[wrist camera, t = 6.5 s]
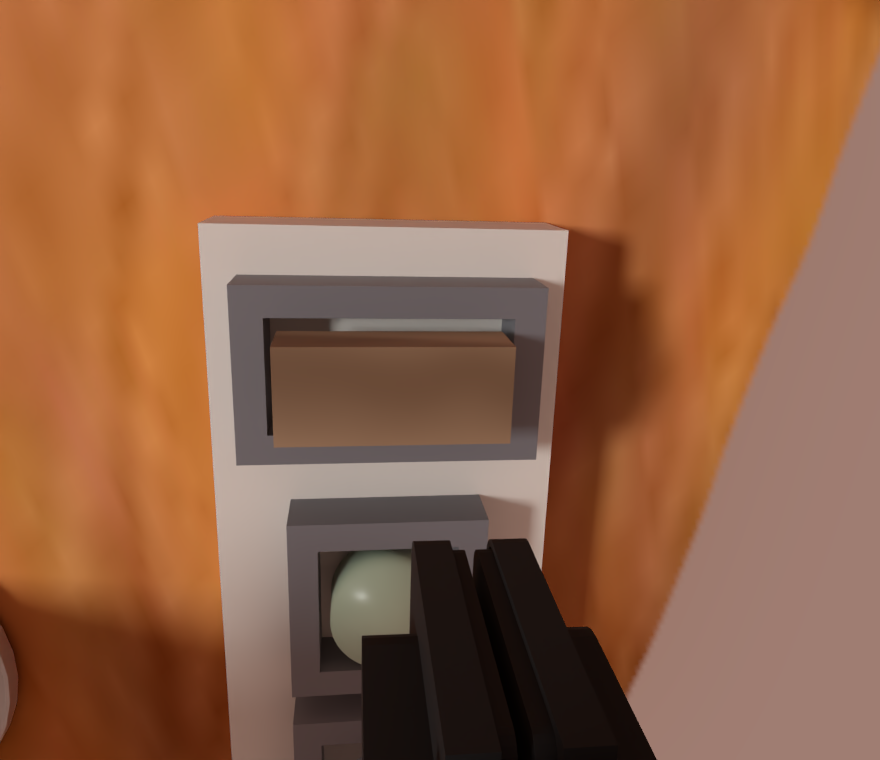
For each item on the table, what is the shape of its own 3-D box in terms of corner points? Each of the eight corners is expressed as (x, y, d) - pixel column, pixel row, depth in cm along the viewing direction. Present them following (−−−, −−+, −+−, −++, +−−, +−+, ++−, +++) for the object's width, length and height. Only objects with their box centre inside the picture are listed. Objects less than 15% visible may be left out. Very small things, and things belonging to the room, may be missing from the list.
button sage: (438, 630, 28) (445, 665, 26) (331, 635, 27) (330, 672, 26) (441, 536, 27) (448, 565, 25) (330, 540, 26) (329, 570, 24)
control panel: (506, 780, 35) (531, 878, 30) (247, 799, 33) (231, 906, 29) (545, 222, 27) (587, 237, 23) (214, 215, 26) (184, 229, 21)
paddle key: (497, 420, 24) (510, 443, 22) (279, 423, 23) (273, 447, 21) (502, 331, 23) (516, 347, 21) (276, 331, 22) (270, 347, 20)
